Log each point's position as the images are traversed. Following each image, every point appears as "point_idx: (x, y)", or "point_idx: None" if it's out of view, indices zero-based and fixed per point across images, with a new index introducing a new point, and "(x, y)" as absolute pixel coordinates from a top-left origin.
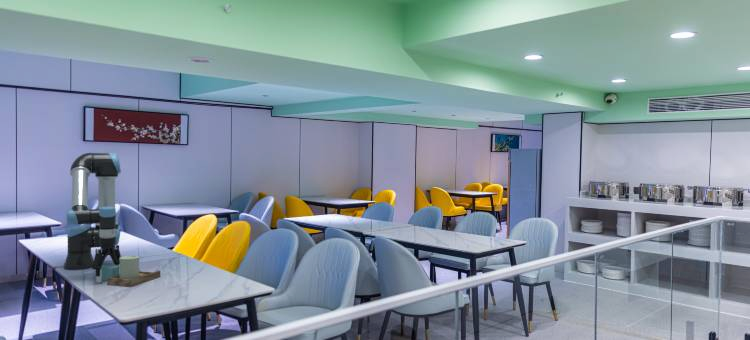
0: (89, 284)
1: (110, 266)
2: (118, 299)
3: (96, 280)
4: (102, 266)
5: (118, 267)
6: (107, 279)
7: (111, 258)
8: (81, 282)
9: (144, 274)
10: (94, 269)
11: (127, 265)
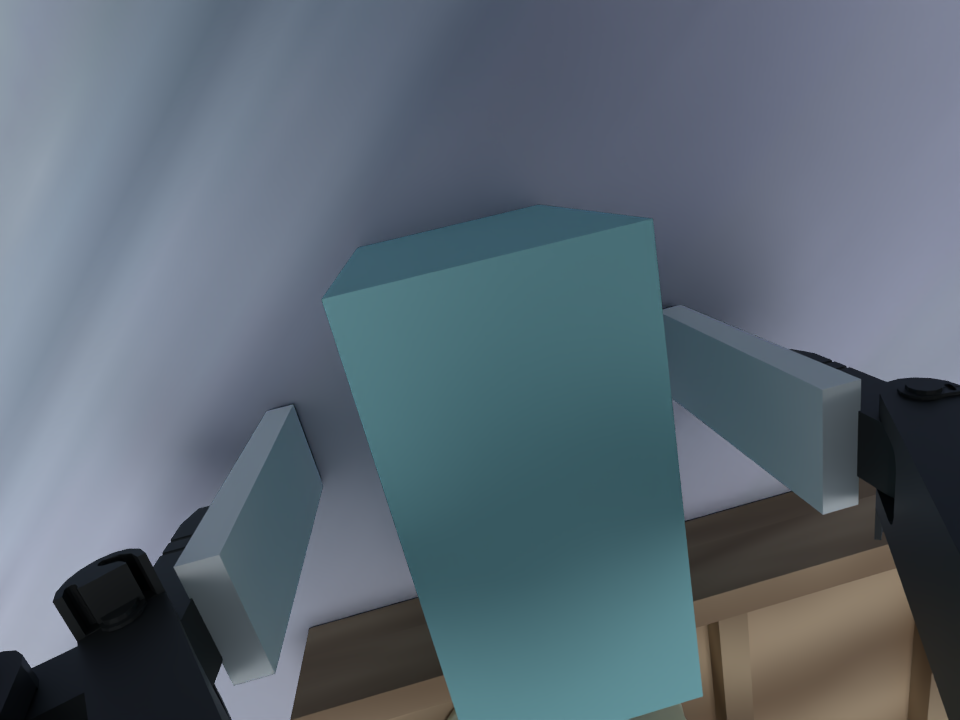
0: (127, 418)
1: (615, 554)
2: None
3: (258, 430)
4: (508, 386)
5: (666, 688)
6: (296, 700)
7: (953, 544)
8: (90, 147)
9: (873, 634)
10: (106, 575)
11: None
